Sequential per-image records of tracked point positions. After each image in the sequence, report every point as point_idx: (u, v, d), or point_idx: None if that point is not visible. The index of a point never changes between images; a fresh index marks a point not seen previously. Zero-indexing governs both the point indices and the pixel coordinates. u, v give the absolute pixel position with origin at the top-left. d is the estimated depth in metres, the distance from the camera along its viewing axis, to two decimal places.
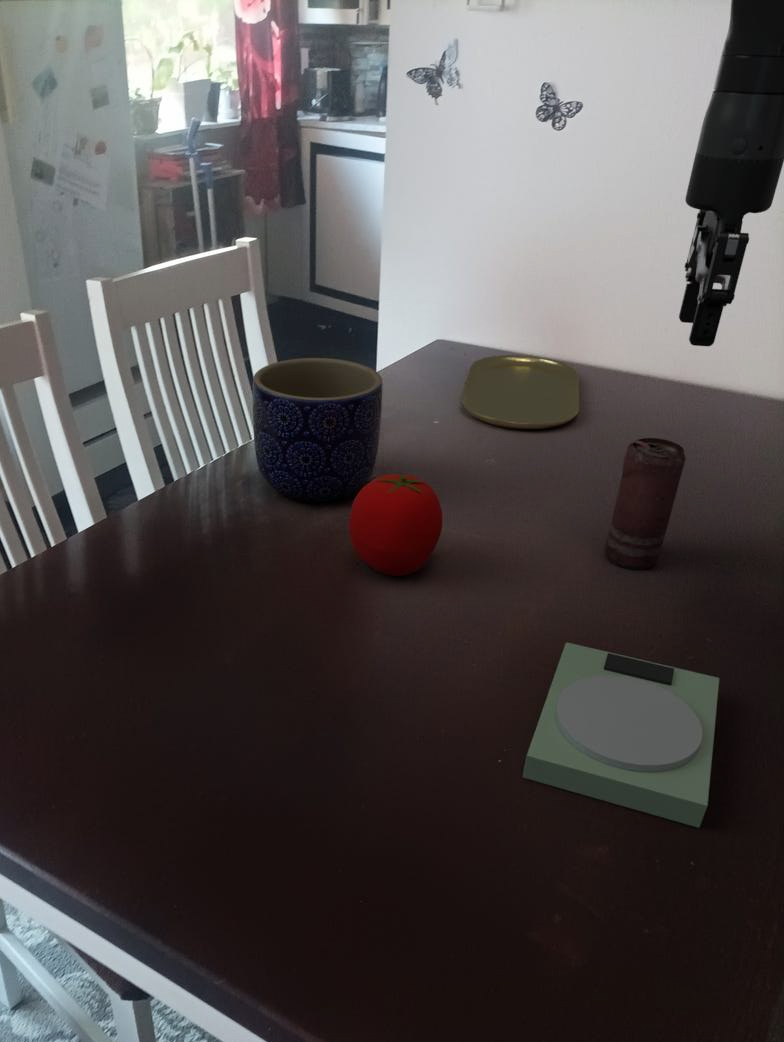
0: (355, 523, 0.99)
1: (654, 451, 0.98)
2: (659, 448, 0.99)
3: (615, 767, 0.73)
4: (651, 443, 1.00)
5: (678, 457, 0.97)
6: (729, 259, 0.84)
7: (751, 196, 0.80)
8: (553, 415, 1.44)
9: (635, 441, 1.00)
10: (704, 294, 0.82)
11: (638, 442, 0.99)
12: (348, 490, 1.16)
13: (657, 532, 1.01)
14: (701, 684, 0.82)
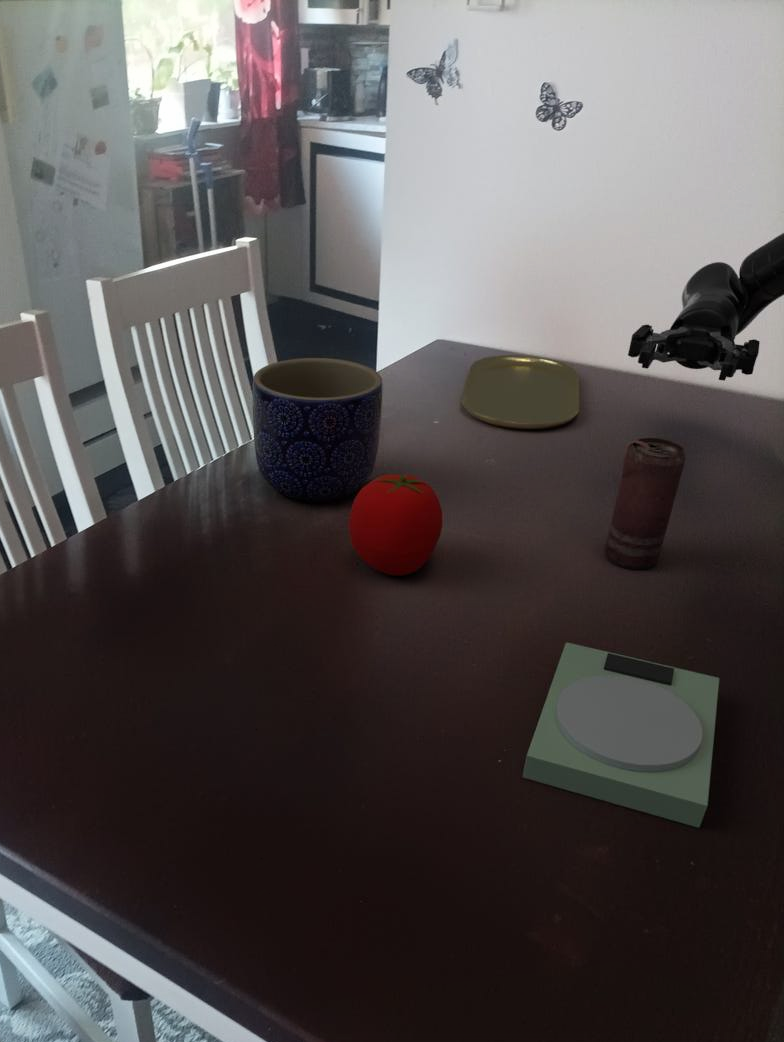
0: (355, 523, 0.99)
1: (654, 451, 0.98)
2: (659, 448, 0.99)
3: (615, 767, 0.73)
4: (651, 443, 1.00)
5: (678, 457, 0.97)
6: None
7: None
8: (553, 415, 1.44)
9: (635, 441, 1.00)
10: None
11: (638, 442, 0.99)
12: (348, 490, 1.16)
13: (657, 532, 1.01)
14: (701, 684, 0.82)
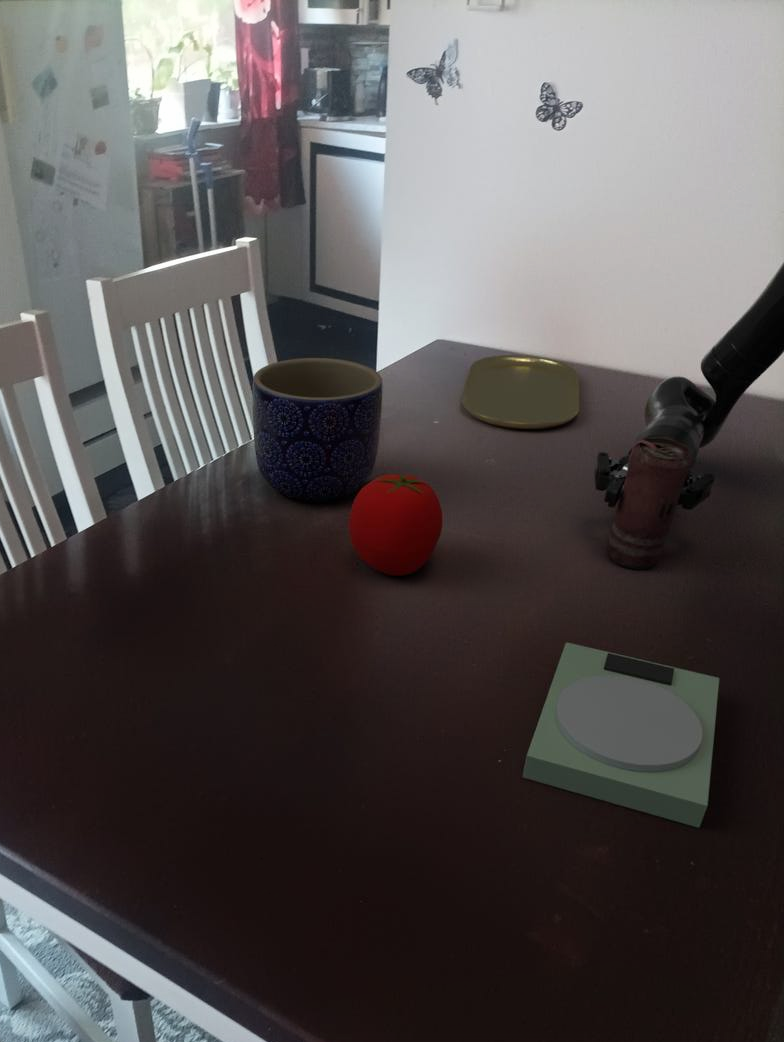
0: (355, 523, 0.99)
1: (660, 452, 0.98)
2: (665, 449, 0.98)
3: (615, 767, 0.73)
4: (657, 443, 1.00)
5: (684, 459, 0.96)
6: None
7: None
8: (553, 415, 1.44)
9: (641, 441, 0.99)
10: None
11: (644, 442, 0.99)
12: (348, 490, 1.16)
13: (660, 533, 1.01)
14: (701, 684, 0.82)
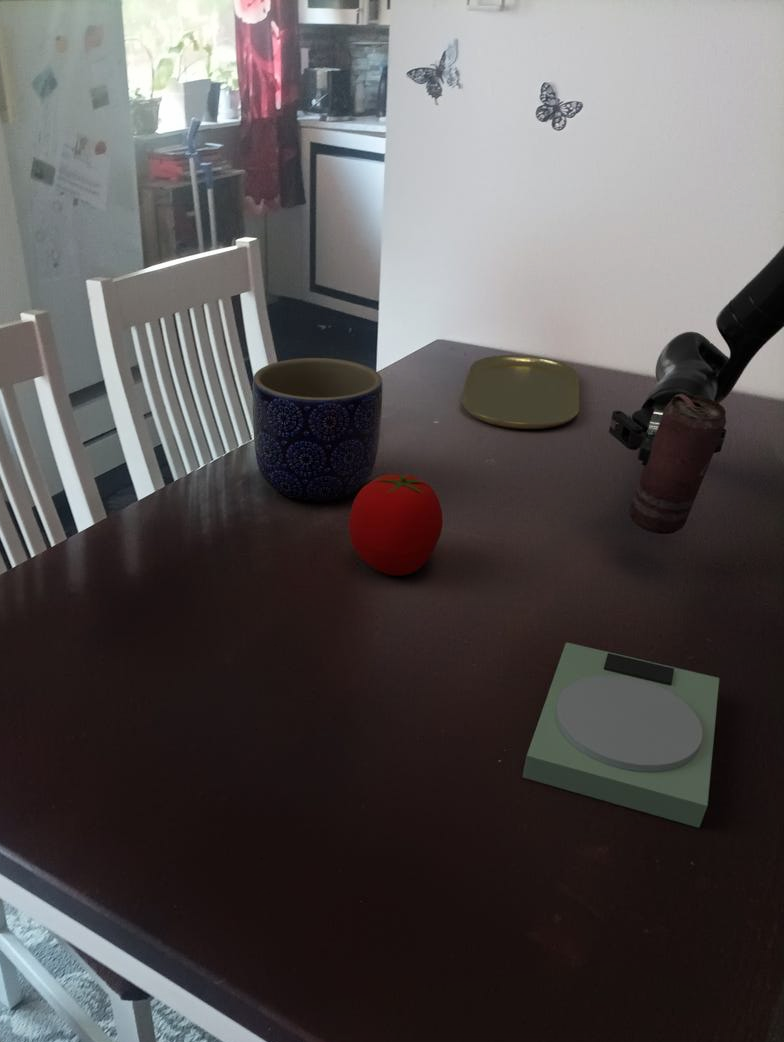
0: (355, 523, 0.99)
1: (692, 409, 0.92)
2: (700, 408, 0.92)
3: (615, 767, 0.73)
4: (699, 402, 0.94)
5: (708, 421, 0.90)
6: (641, 419, 1.03)
7: None
8: (553, 415, 1.44)
9: (680, 395, 0.94)
10: None
11: (682, 397, 0.94)
12: (348, 490, 1.16)
13: (675, 497, 0.96)
14: (701, 684, 0.82)
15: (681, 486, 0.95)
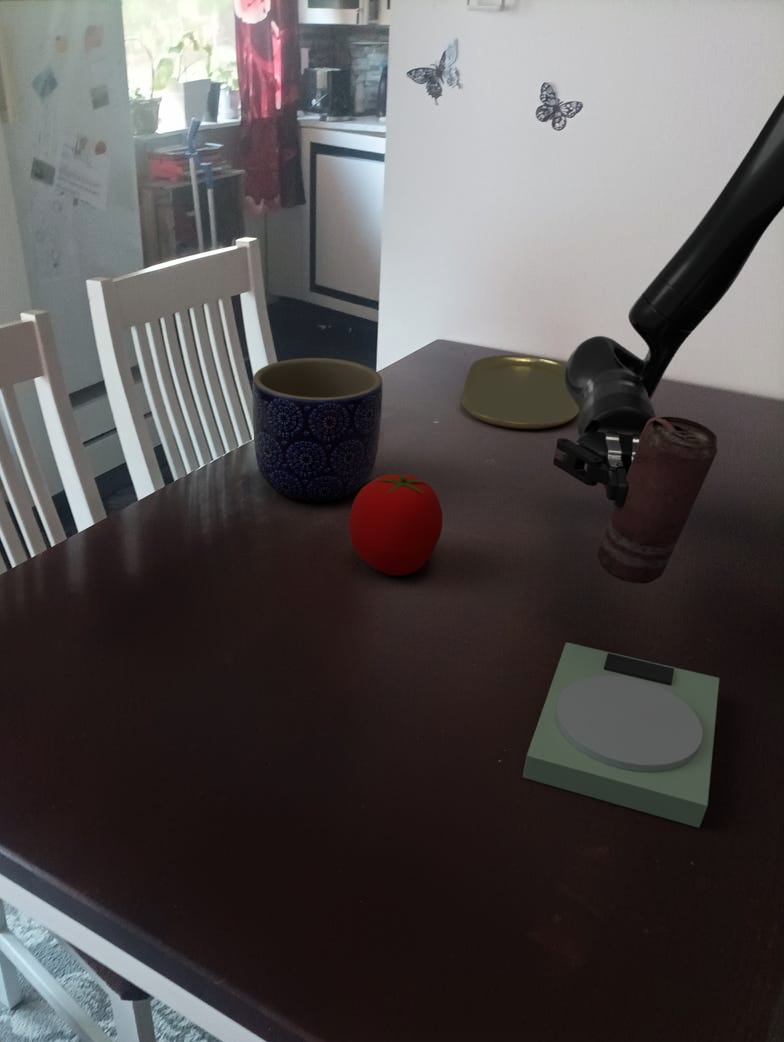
0: (355, 523, 0.99)
1: (678, 436, 0.75)
2: (686, 433, 0.76)
3: (615, 767, 0.73)
4: (678, 425, 0.77)
5: (706, 449, 0.74)
6: (592, 447, 0.86)
7: (584, 423, 0.90)
8: (553, 415, 1.44)
9: (657, 419, 0.76)
10: None
11: (660, 421, 0.76)
12: (348, 490, 1.16)
13: (664, 540, 0.79)
14: (701, 684, 0.82)
15: (671, 527, 0.78)
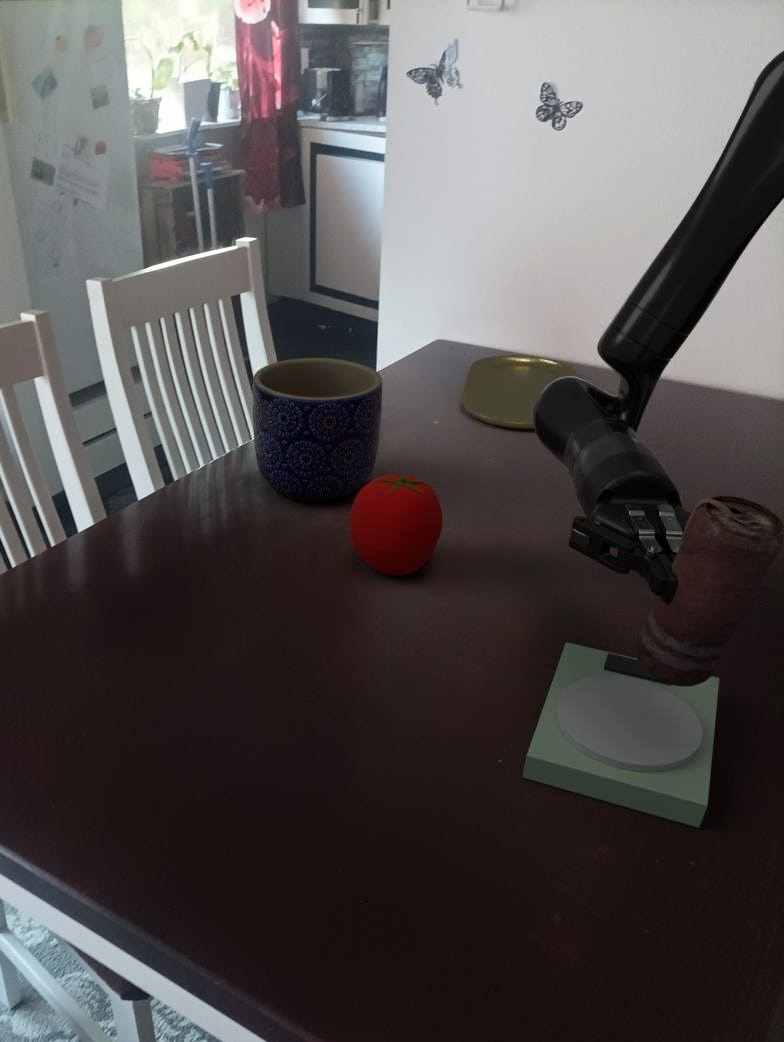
0: (355, 523, 0.99)
1: (737, 522, 0.63)
2: (745, 517, 0.64)
3: (615, 767, 0.73)
4: (733, 505, 0.65)
5: (775, 538, 0.62)
6: (614, 525, 0.73)
7: (592, 492, 0.77)
8: None
9: (710, 500, 0.64)
10: None
11: (714, 503, 0.64)
12: (348, 490, 1.16)
13: (720, 640, 0.67)
14: (701, 684, 0.82)
15: (730, 626, 0.66)
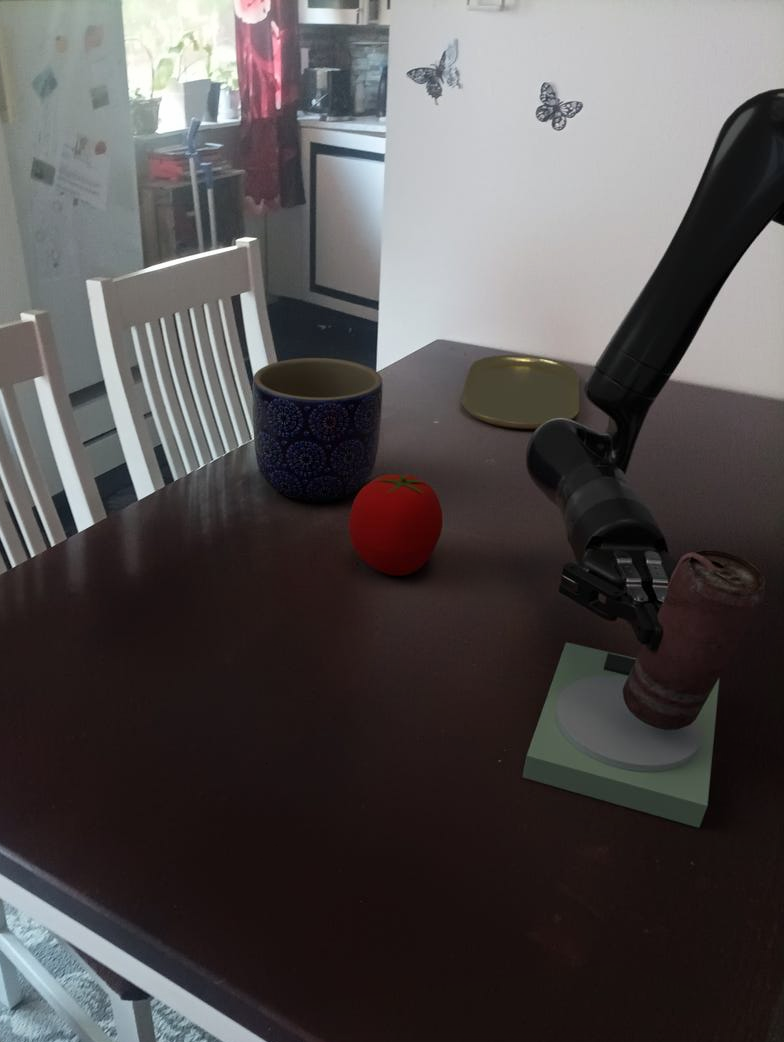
0: (355, 523, 0.99)
1: (720, 576, 0.66)
2: (727, 571, 0.66)
3: (615, 767, 0.73)
4: (716, 559, 0.67)
5: (755, 594, 0.64)
6: (603, 572, 0.75)
7: (582, 537, 0.80)
8: (553, 415, 1.44)
9: (693, 555, 0.67)
10: None
11: (698, 557, 0.66)
12: (348, 490, 1.16)
13: (704, 687, 0.69)
14: None
15: (713, 674, 0.68)
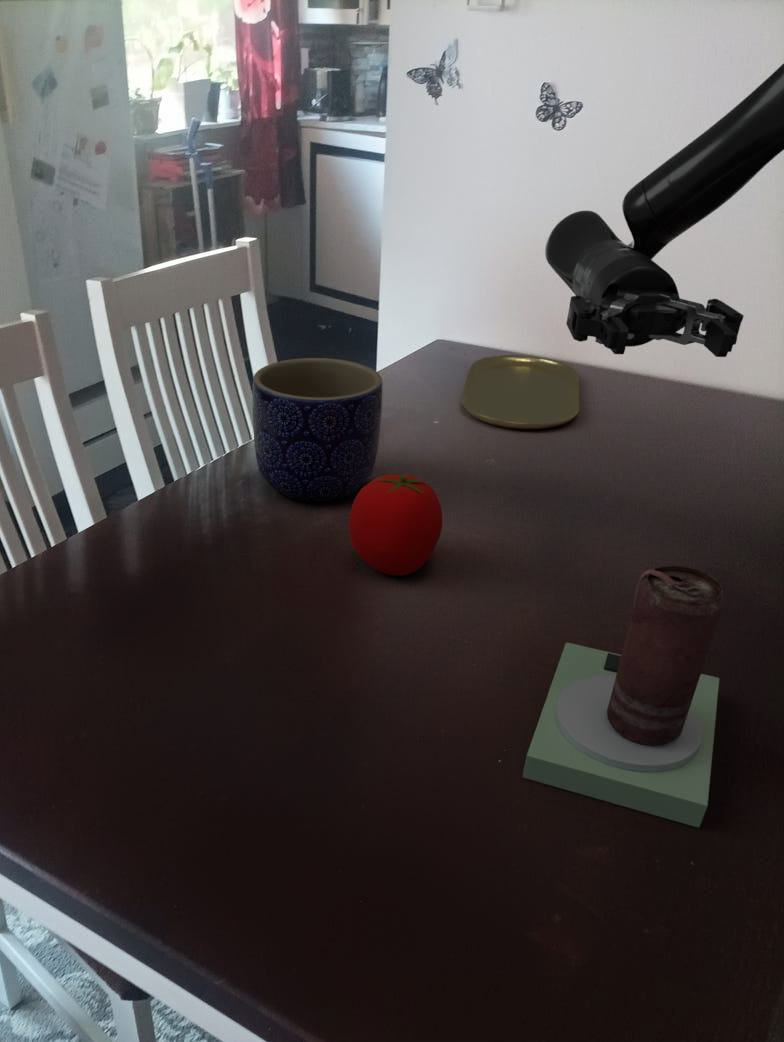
0: (355, 523, 0.99)
1: (678, 589, 0.68)
2: (686, 584, 0.68)
3: (615, 767, 0.73)
4: (675, 574, 0.70)
5: (713, 602, 0.66)
6: None
7: (599, 290, 0.85)
8: (553, 415, 1.44)
9: (651, 572, 0.69)
10: None
11: (656, 574, 0.69)
12: (348, 490, 1.16)
13: (681, 700, 0.71)
14: (701, 684, 0.82)
15: (687, 686, 0.70)
